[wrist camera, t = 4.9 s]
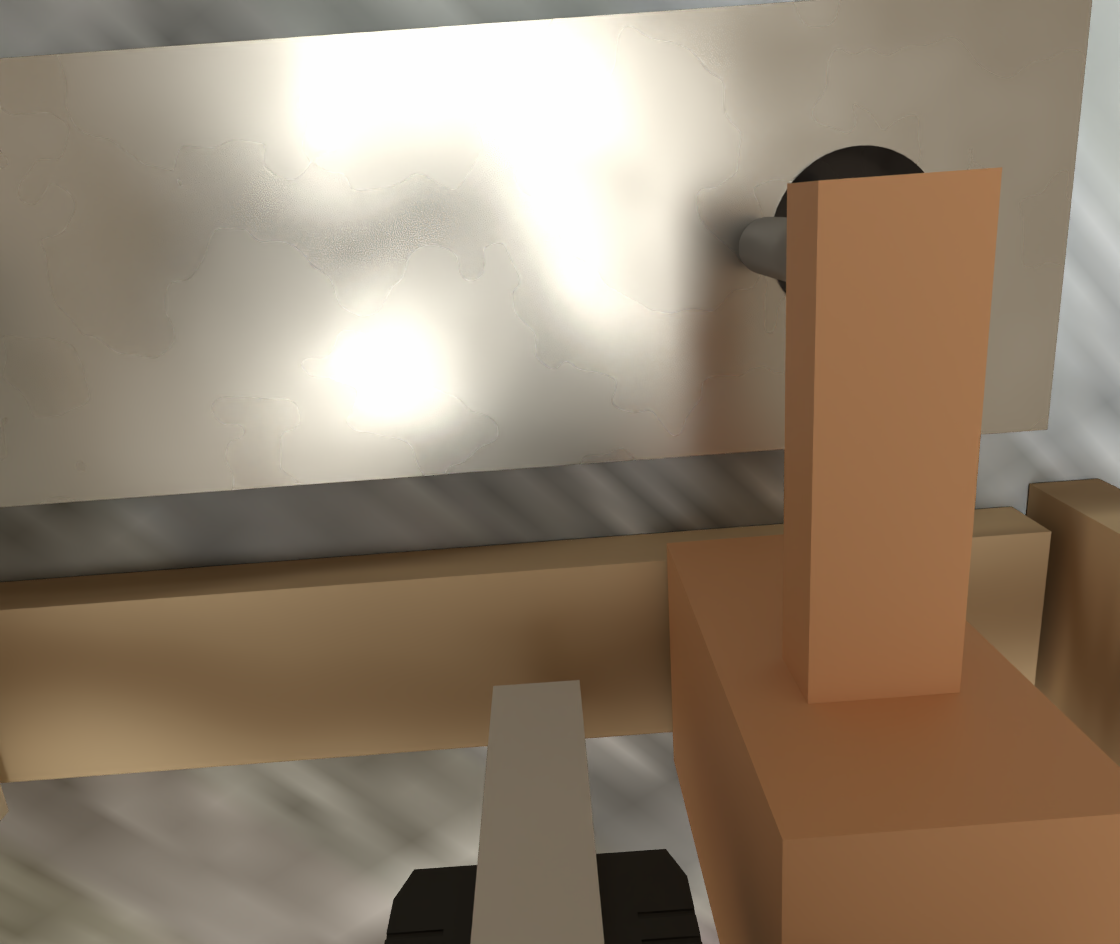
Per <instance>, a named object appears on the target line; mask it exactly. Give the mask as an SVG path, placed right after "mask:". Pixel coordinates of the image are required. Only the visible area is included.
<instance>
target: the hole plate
mask: <svg viewBox="0 0 1120 944" xmlns="http://www.w3.org/2000/svg"><path fill="white" fill-rule="evenodd" d="M1091 7H1092V0H812V1H798V2H784V3H770V4H756V5H741V6H727V7H713V8H699V9H685V10H671V11H657V12H643V13H629V14H615V15H601V16H587V17H573V18H559V19H545V20H531V21H517V22H503V23H489V24H475V25H461V26H446V27H432V28H418V29H404V30H390V31H376V32H362V33H348V34H334V35H320V36H306V37H292V38H278V39H264V40H250V41H236V42H222V43H208V44H194V45H180V46H166V47H151V48H137V49H123V50H109V51H95V52H81V53H67V54H53V55H39V56H25V57H11V58H0V507H10V506H24V505H37V504H51V503H64V502H77V501H91V500H104V499H118V498H131V497H145V496H158V495H172V494H185V493H199V492H212V491H226V490H239V489H253V488H266V487H280V486H293V485H307V484H320V483H334V482H347V481H360V480H374V479H387V478H401V477H414V476H428V475H441V474H455V473H468V472H482V471H495V470H509V469H522V468H536V467H549V466H563V465H576V464H590V463H603V462H617V461H630V460H643V459H657V458H670V457H684V456H697V455H711V454H724V453H738V452H751V451H765V450H778V449H785V349H786V282H785V281H781V280H778V279H775V278H771V277H768V276H764V275H761V274H758V273H755V272H752V271H751V270H749V269H748V268H747V267H746V266H745V265H744V263H743V262H742V260H741V258H740V255H739V240H740V237H741V235H742V233H743V231H744V230H745V228H746V227H747V226H748V225H749V224H750V223H751V222H753V221H755V220H756V219H759V218H762V217H787V184H788V183H799V182H809V181H819V180H833V179H847V178H861V177H875V176H888V175H902V174H916V173H930V172H944V171H957V170H971V169H985V168H999V167H1002V178H1001V190H1000V202H999V215H998V227H997V239H996V252H995V264H994V276H993V289H992V301H991V313H990V326H989V338H988V350H987V363H986V375H985V388H984V400H983V412H982V425H981V434H994V433H1007V432H1021V431H1034V430H1047V427H1048V417H1049V408H1050V398H1051V389H1052V379H1053V370H1054V360H1055V351H1056V341H1057V332H1058V322H1059V312H1060V303H1061V293H1062V284H1063V274H1064V265H1065V255H1066V246H1067V236H1068V227H1069V217H1070V208H1071V198H1072V189H1073V179H1074V169H1075V160H1076V150H1077V141H1078V131H1079V122H1080V112H1081V103H1082V93H1083V84H1084V74H1085V65H1086V55H1087V45H1088V36H1089V26H1090V17H1091Z"/></svg>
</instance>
